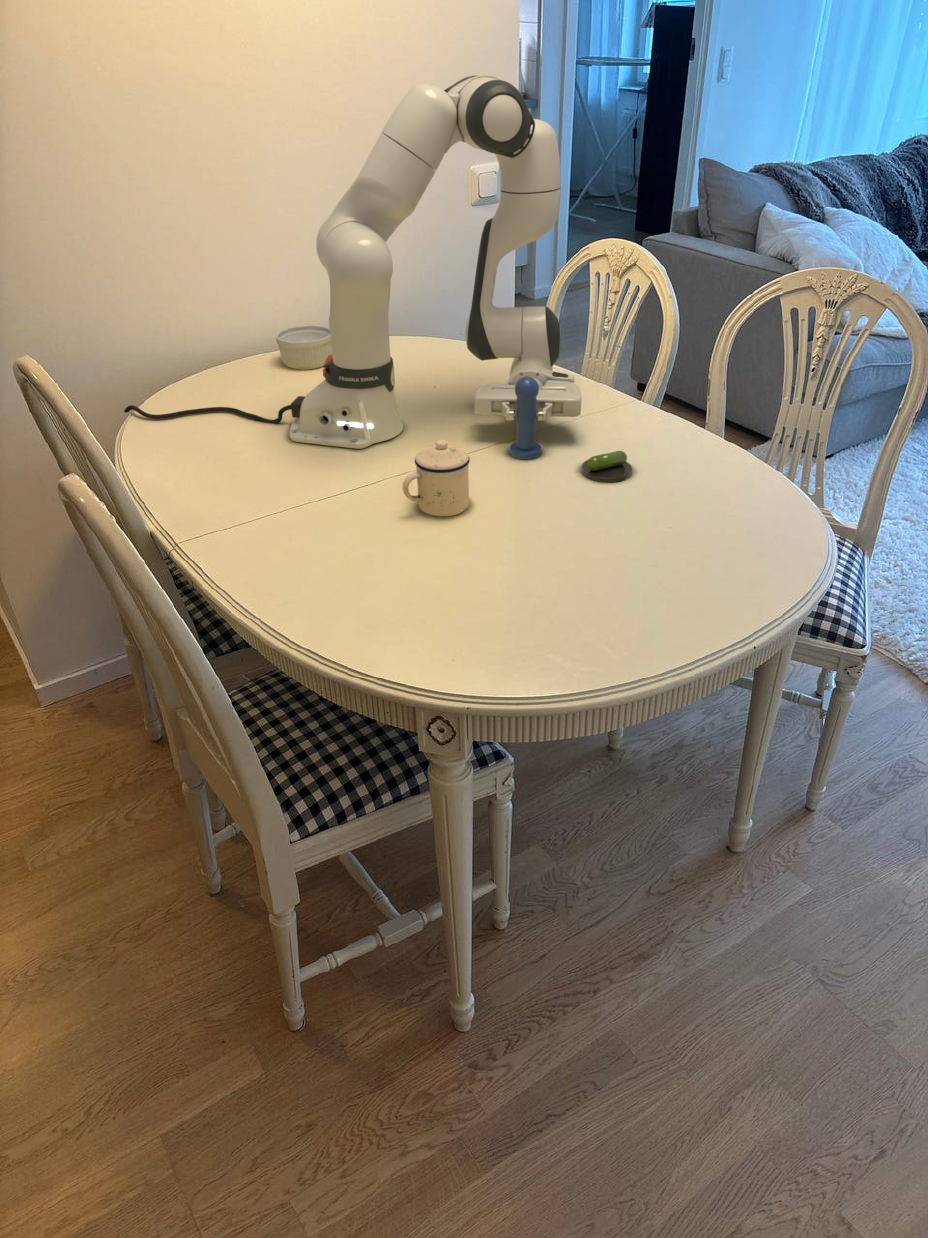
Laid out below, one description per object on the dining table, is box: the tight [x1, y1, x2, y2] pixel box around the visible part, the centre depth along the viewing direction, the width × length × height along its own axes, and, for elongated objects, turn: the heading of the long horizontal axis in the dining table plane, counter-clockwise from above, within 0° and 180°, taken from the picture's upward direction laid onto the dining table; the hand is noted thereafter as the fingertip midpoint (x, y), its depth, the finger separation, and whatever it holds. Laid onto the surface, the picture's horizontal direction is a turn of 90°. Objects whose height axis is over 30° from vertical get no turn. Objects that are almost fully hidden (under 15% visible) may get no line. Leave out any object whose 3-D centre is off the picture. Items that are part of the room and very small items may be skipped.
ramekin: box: [275, 324, 332, 371], centre depth 215 cm, size 13×13×7 cm
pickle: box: [581, 450, 633, 483], centre depth 164 cm, size 9×9×3 cm
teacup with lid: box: [402, 439, 471, 517], centre depth 151 cm, size 12×9×12 cm
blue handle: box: [509, 377, 543, 461], centre depth 168 cm, size 6×6×15 cm
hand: (525, 417), depth 167 cm, fingers open, 4 cm apart
